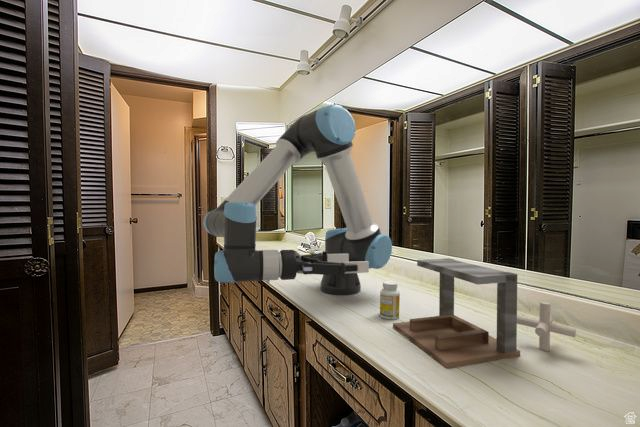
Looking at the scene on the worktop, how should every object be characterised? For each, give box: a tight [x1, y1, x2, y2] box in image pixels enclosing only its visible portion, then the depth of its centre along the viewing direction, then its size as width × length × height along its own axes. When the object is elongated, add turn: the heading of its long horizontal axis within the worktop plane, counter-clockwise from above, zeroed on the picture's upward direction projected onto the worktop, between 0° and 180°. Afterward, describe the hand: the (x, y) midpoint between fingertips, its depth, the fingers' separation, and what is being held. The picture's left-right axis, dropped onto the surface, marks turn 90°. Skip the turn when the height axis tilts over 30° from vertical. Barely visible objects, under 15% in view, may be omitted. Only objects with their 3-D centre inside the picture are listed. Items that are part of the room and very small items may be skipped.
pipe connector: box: [517, 301, 577, 352], centre depth 63 cm, size 10×10×10 cm
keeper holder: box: [392, 257, 521, 369], centre depth 67 cm, size 20×18×17 cm
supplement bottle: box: [379, 280, 401, 320], centre depth 82 cm, size 5×5×10 cm
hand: (357, 262), depth 79 cm, fingers open, 13 cm apart
